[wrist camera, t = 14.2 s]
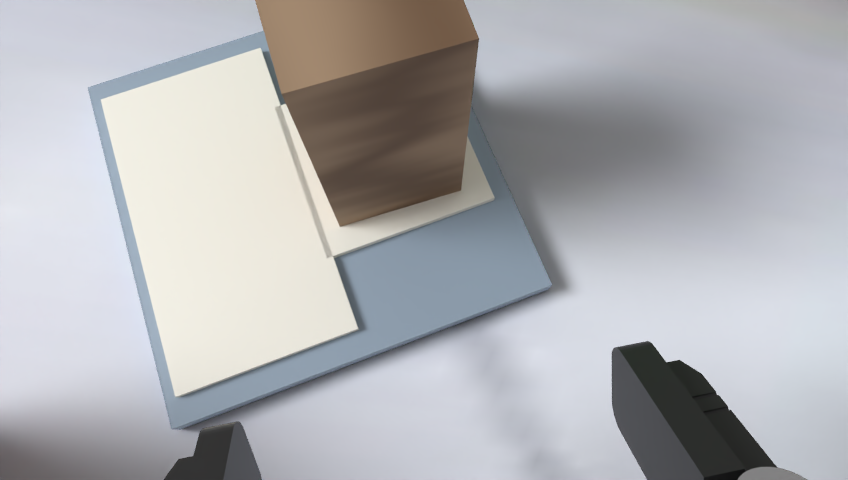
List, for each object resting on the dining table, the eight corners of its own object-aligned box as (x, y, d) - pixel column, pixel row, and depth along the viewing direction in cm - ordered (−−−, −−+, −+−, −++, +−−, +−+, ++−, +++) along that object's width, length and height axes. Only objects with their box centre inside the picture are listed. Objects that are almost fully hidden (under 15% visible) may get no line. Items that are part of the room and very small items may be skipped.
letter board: (180, 429, 23) (168, 429, 22) (97, 97, 28) (84, 83, 27) (548, 289, 25) (553, 282, 24) (415, -7, 29) (415, -23, 28)
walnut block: (339, 226, 25) (281, 94, 15) (308, 117, 26) (236, -67, 17) (460, 190, 25) (478, 38, 15) (423, 85, 26) (418, -114, 17)
